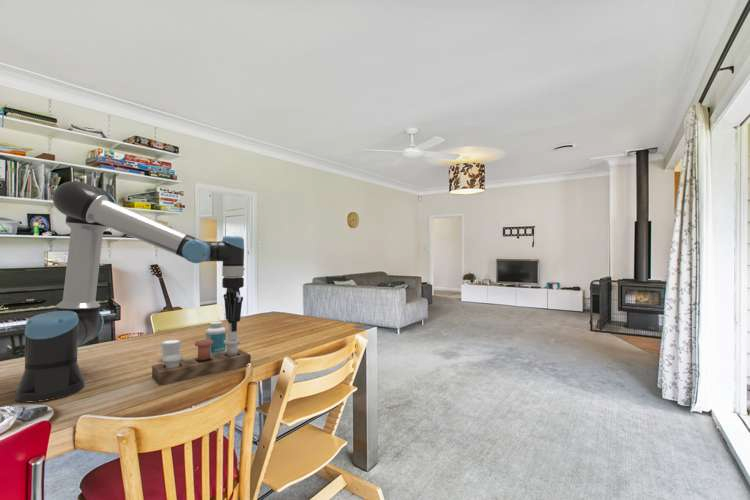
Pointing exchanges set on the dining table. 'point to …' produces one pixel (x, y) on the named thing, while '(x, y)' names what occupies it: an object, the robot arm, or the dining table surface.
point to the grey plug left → (172, 361)
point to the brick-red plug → (204, 349)
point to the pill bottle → (216, 337)
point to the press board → (199, 367)
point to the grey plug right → (232, 347)
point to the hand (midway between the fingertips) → (232, 339)
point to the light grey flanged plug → (170, 347)
